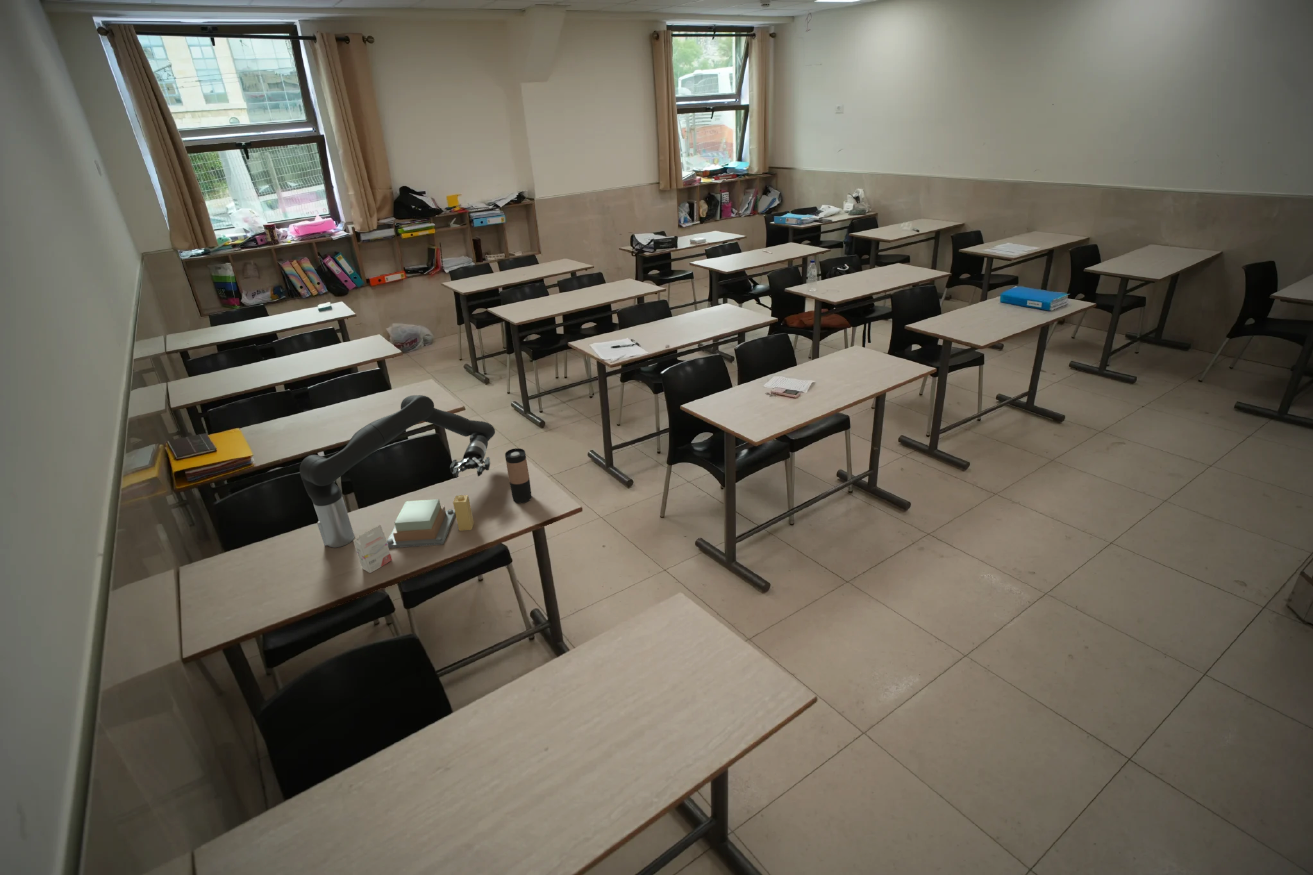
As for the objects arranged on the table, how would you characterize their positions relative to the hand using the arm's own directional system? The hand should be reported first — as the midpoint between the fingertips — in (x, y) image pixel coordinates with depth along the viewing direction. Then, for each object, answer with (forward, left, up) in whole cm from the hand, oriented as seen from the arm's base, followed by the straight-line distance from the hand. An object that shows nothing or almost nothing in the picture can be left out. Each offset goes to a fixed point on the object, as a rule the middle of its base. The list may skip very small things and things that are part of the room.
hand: (466, 475), depth 242 cm
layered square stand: (-16, -12, -15) cm, 25 cm away
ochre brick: (0, -12, -15) cm, 19 cm away
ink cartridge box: (-26, -31, -15) cm, 43 cm away
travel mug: (+18, +5, -15) cm, 24 cm away
